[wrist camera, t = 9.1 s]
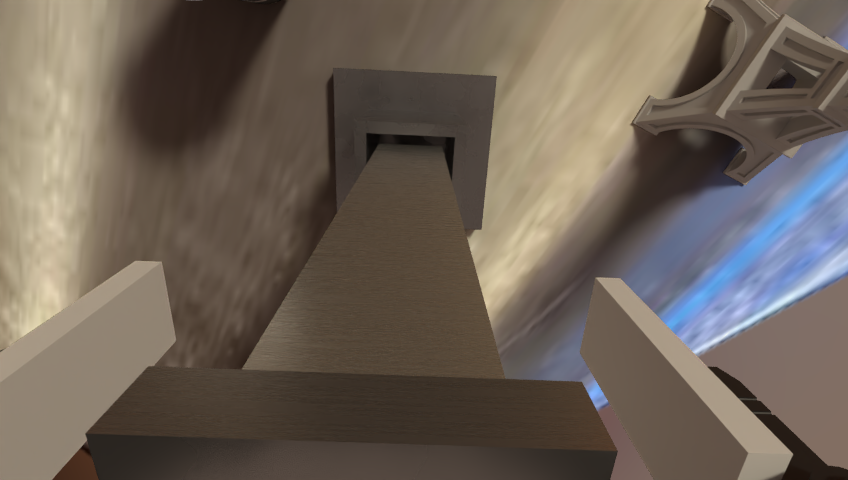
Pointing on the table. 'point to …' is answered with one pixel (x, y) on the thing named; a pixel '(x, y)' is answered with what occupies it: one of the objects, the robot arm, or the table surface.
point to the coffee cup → (256, 0)
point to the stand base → (416, 126)
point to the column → (364, 367)
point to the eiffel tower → (763, 90)
